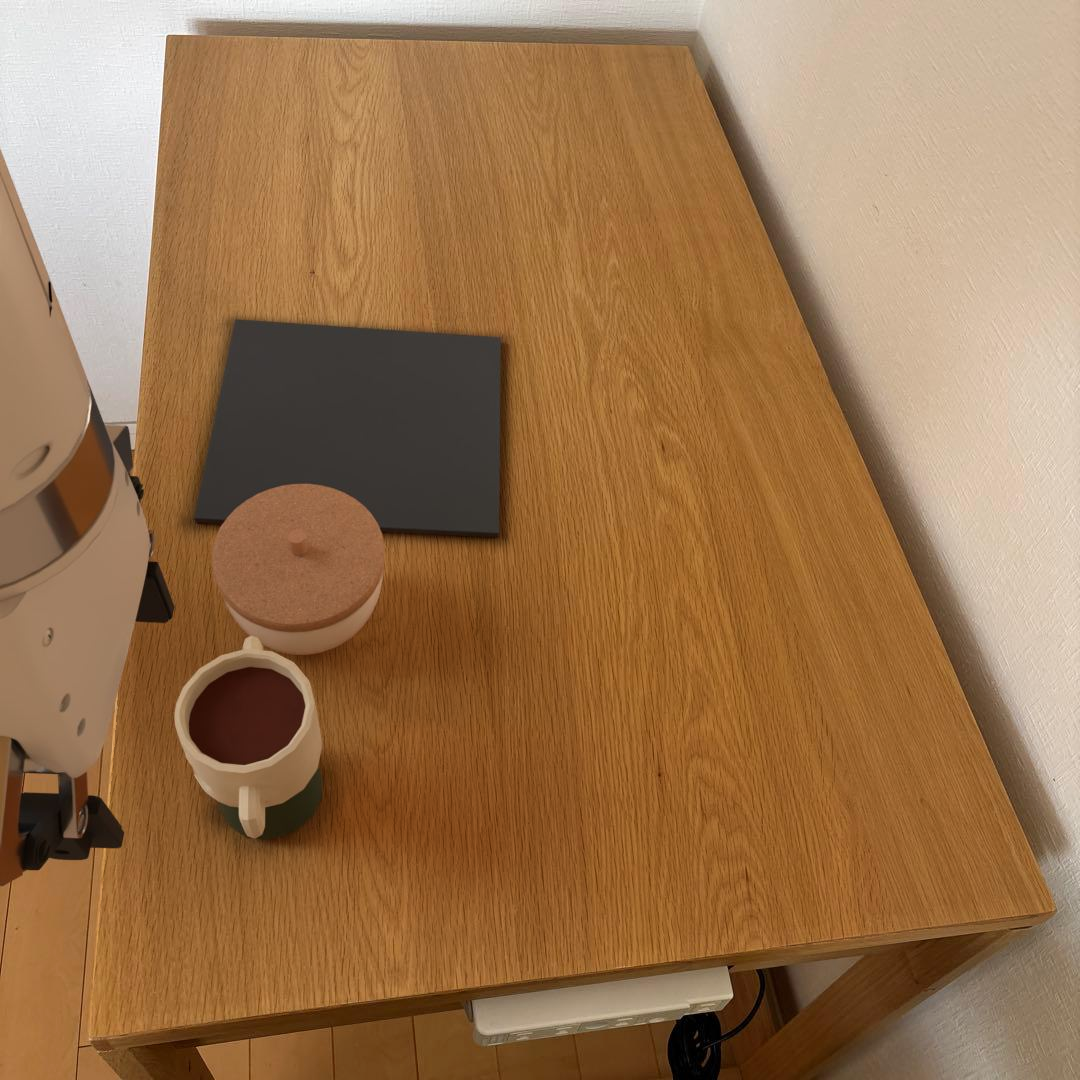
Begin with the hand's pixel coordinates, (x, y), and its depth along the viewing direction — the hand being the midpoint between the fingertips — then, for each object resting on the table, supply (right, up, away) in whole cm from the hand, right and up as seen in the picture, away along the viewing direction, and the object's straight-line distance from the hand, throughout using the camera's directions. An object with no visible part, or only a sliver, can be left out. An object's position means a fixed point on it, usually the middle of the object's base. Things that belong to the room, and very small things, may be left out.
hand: (110, 719), depth 41 cm
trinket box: (+1, +2, +30) cm, 30 cm away
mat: (+3, +16, +39) cm, 43 cm away
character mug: (+1, -9, +23) cm, 24 cm away
